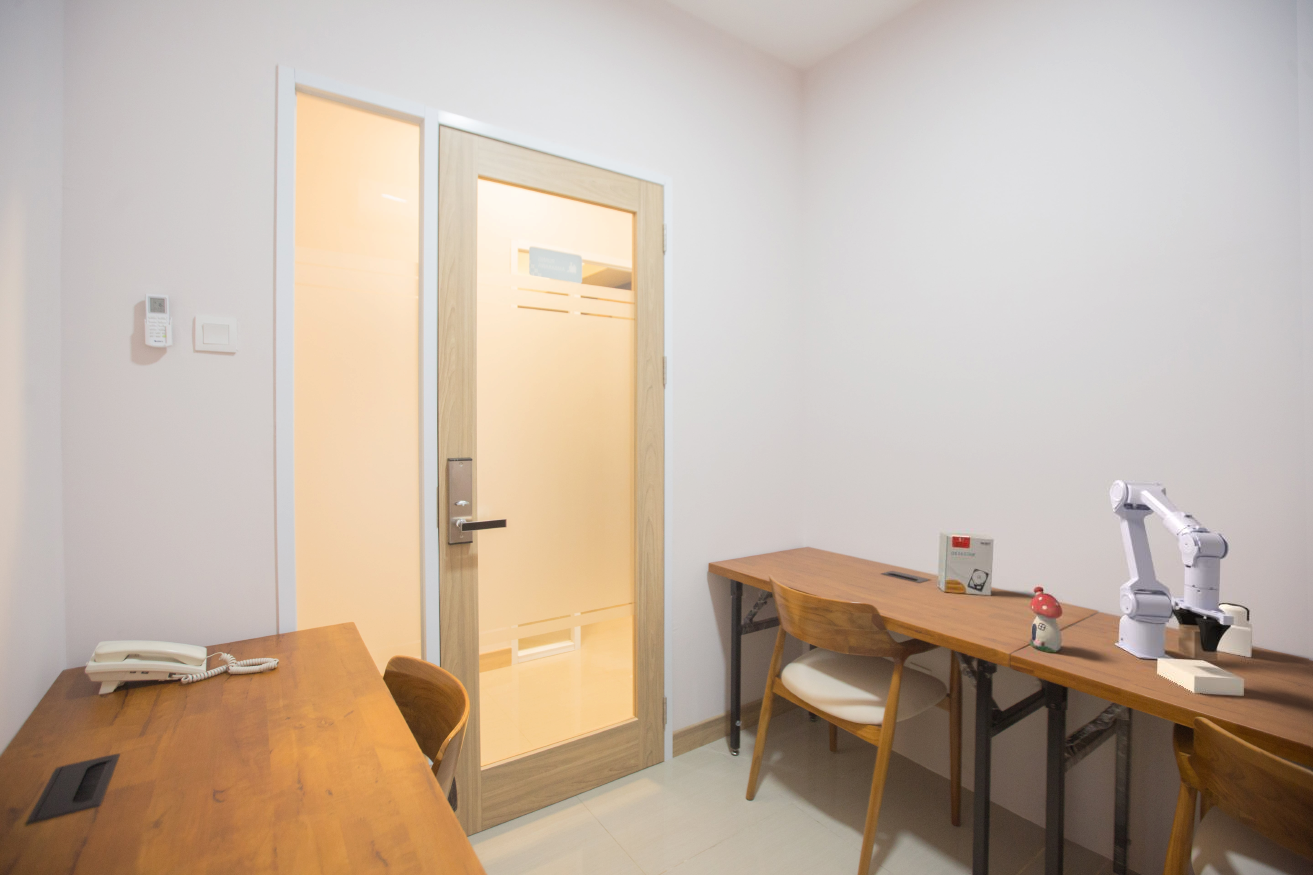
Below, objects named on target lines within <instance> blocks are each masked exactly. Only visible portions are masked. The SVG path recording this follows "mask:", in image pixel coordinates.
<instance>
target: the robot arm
mask: <svg viewBox="0 0 1313 875" xmlns="http://www.w3.org/2000/svg"><path fill="white" fill-rule="evenodd" d="M1109 498H1110V502H1111V507H1112V511H1113V513H1114V514H1116V515H1117V518H1118V523H1119V528H1120V534H1121V537H1122V538H1121V539H1122V543H1123V550H1124V554H1125V557H1126V558H1125V559H1126V564H1127V569H1128V573H1129V575H1128V576H1129V578H1130V579H1129V580H1128V581H1126V582H1125V583H1123V584H1122V585H1121V586H1120V587H1119V596H1120V597H1119V606H1120V610H1121V611H1122V612H1123V613H1124V615H1123V616H1121V617H1120V620H1119V625H1118V626H1119V628H1118V630H1119V631H1118V642H1115V643H1114V644H1115V646H1116V647H1119V648H1120V649H1123V650H1125V651H1126V652H1128V653H1130V654H1131V655H1133V656H1135V657H1137V658H1139V659H1149V660H1158V658H1164V659H1175V658H1174V657H1172V656H1170V655H1169V654H1166V628H1167V626H1166V623H1170V620H1171V619H1173V618H1174V617H1175V618H1176V621H1177V623H1178V626H1179V625H1198V626H1199V629H1200V633H1201V645H1202V649H1203V651H1206V652H1215V651H1216V649H1217V647H1218V644H1219V642H1220V640H1221V638H1222V636H1223V635H1224V633H1225V632H1226V631H1227V630H1228V629H1229V628H1230V627H1231V625H1234V616H1232V615H1229V614H1227V613H1226V612H1224V611H1223V610H1221V609H1220V608H1219V604H1220V588H1221V587H1220V584H1221V583H1220V582H1221V560H1222V559H1225V558H1226V557H1227V556H1228V553H1229V551H1230V550H1229V549H1230V548H1229V542H1228V540H1227V539H1226V538H1225V536H1224V535H1223V533H1221V532H1217V531H1215V532H1214V531H1212V530H1208V529H1207V528H1206V527H1205V526H1204V525H1203V524H1201V523H1200V522H1199V520H1197V519H1196V518H1195V517H1194V516H1193V514H1191V512H1188V511H1183V510H1179V509H1178V508H1177V507H1176V506H1175V505H1174V503H1173V502H1172V501H1171V500H1170V499H1169V497H1167V490H1166V487H1165V486H1163V485H1162V483H1161V482H1160V481H1157V480H1154V481H1152V480H1151V481H1142V480H1140V481H1139V480H1138V481H1137V480H1124V479H1123V480H1121V479H1117V480H1115V481H1114V482H1113V483H1112V485H1111V487H1110V490H1109ZM1154 513H1155V514H1156V515H1158V516H1159V517H1160V518H1161V519H1162V520H1163V521H1162V525H1163V527H1164V528H1165V530H1166V531H1168V533H1169V534H1170V535H1172V537H1174V539H1176V541H1177V542H1178V549H1179V551H1180V553H1181V554H1180V555H1181V561H1182V563H1183V564H1184V578H1183V580H1184V581H1183V582H1184V585H1183V597H1181V596H1172V594H1171V592H1170V588H1169V587H1168V586H1166V585H1165V584H1163V583H1162V582H1160V581H1159V580H1158V579H1157V577H1156V572H1155V568H1154V562H1153V557H1152V553H1151V548H1150V543H1149V540H1148V539H1149V538H1148V535H1147V529H1146V524H1145V520H1144V519H1145V518H1146V517H1147V516H1151V515H1152V514H1154ZM1177 607H1179V608H1178V609H1177Z"/></svg>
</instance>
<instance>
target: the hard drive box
mask: <svg viewBox="0 0 1313 875" xmlns="http://www.w3.org/2000/svg"><path fill="white" fill-rule="evenodd" d="M994 541H995V540H994V538H993V537H991V536H988V535H986V534H975V533H960V532H943V531H942V532H939V546H938V547H939V549H938V570H937V571H938V572H937V587H938V588H939V589H940V591H942V592H943V593H953V594H969V595H978V596H990V597H991V596H992V578H993V557H994Z"/></svg>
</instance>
